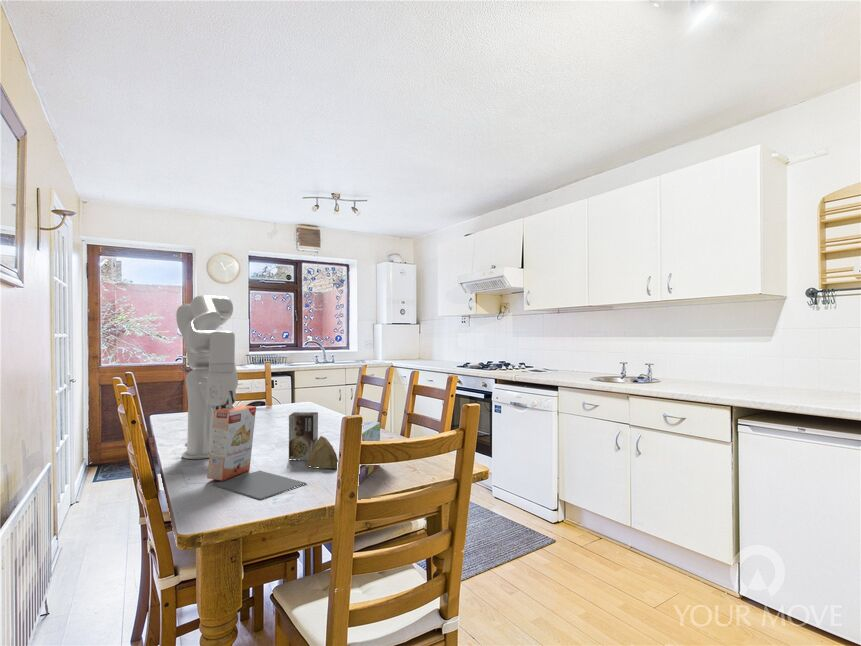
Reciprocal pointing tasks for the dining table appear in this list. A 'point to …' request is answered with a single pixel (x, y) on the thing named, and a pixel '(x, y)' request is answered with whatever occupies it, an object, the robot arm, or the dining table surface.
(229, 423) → the cracker box
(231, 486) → the mat
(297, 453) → the coffee box
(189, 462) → the dining table surface
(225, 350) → the robot arm
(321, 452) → the rock
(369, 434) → the snack box
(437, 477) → the dining table surface
